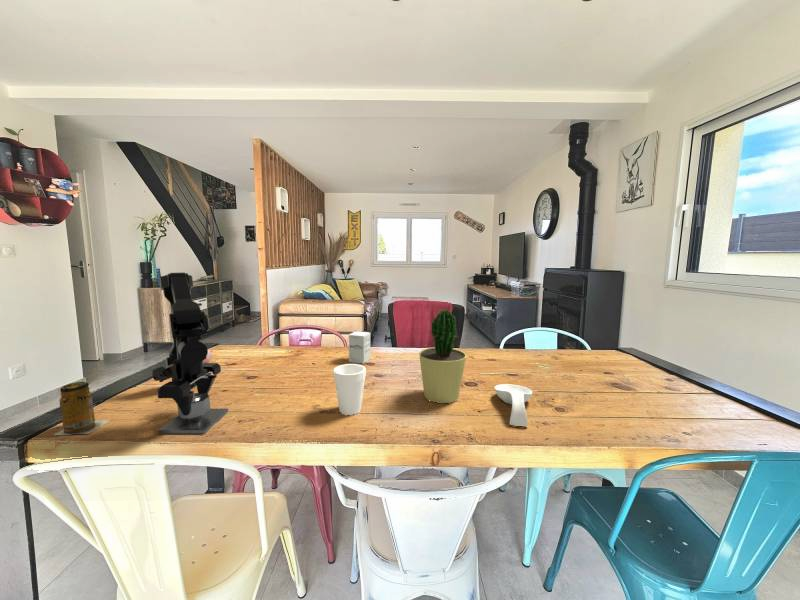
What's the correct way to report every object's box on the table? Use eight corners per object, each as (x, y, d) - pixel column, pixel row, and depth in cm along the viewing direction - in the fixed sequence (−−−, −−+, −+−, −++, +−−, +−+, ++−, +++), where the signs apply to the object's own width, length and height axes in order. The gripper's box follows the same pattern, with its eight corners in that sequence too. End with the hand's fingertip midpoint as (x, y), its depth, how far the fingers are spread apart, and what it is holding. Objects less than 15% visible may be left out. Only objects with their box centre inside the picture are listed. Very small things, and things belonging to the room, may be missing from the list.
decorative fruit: (180, 371, 128) (178, 346, 127) (199, 364, 136) (197, 341, 135) (199, 373, 126) (197, 348, 124) (216, 366, 133) (215, 343, 132)
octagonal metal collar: (189, 406, 93) (188, 392, 92) (214, 406, 93) (213, 392, 92) (173, 418, 86) (172, 404, 85) (199, 418, 86) (198, 404, 85)
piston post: (187, 411, 96) (185, 389, 95) (228, 411, 96) (226, 389, 95) (158, 433, 84) (155, 408, 83) (204, 433, 84) (202, 408, 83)
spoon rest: (492, 391, 113) (493, 371, 112) (528, 395, 110) (529, 374, 109) (497, 425, 90) (498, 401, 89) (542, 431, 87) (544, 406, 86)
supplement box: (348, 362, 141) (348, 334, 139) (356, 357, 148) (355, 330, 146) (363, 364, 138) (363, 335, 137) (370, 359, 145) (370, 332, 144)
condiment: (77, 421, 89) (72, 380, 88) (110, 420, 90) (106, 379, 89) (52, 436, 82) (46, 391, 81) (88, 434, 83) (82, 390, 81)
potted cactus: (430, 383, 118) (432, 303, 114) (470, 393, 110) (474, 307, 106) (409, 399, 105) (411, 309, 101) (454, 411, 97) (457, 314, 93)
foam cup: (332, 405, 100) (331, 365, 98) (361, 401, 103) (361, 362, 102) (337, 420, 91) (336, 376, 90) (369, 415, 95) (369, 372, 93)
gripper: (182, 344, 96) (186, 394, 98) (131, 365, 78) (138, 426, 80) (220, 344, 96) (223, 394, 98) (178, 365, 78) (183, 426, 80)
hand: (194, 408), depth 89 cm, fingers closed on octagonal metal collar, 7 cm apart
